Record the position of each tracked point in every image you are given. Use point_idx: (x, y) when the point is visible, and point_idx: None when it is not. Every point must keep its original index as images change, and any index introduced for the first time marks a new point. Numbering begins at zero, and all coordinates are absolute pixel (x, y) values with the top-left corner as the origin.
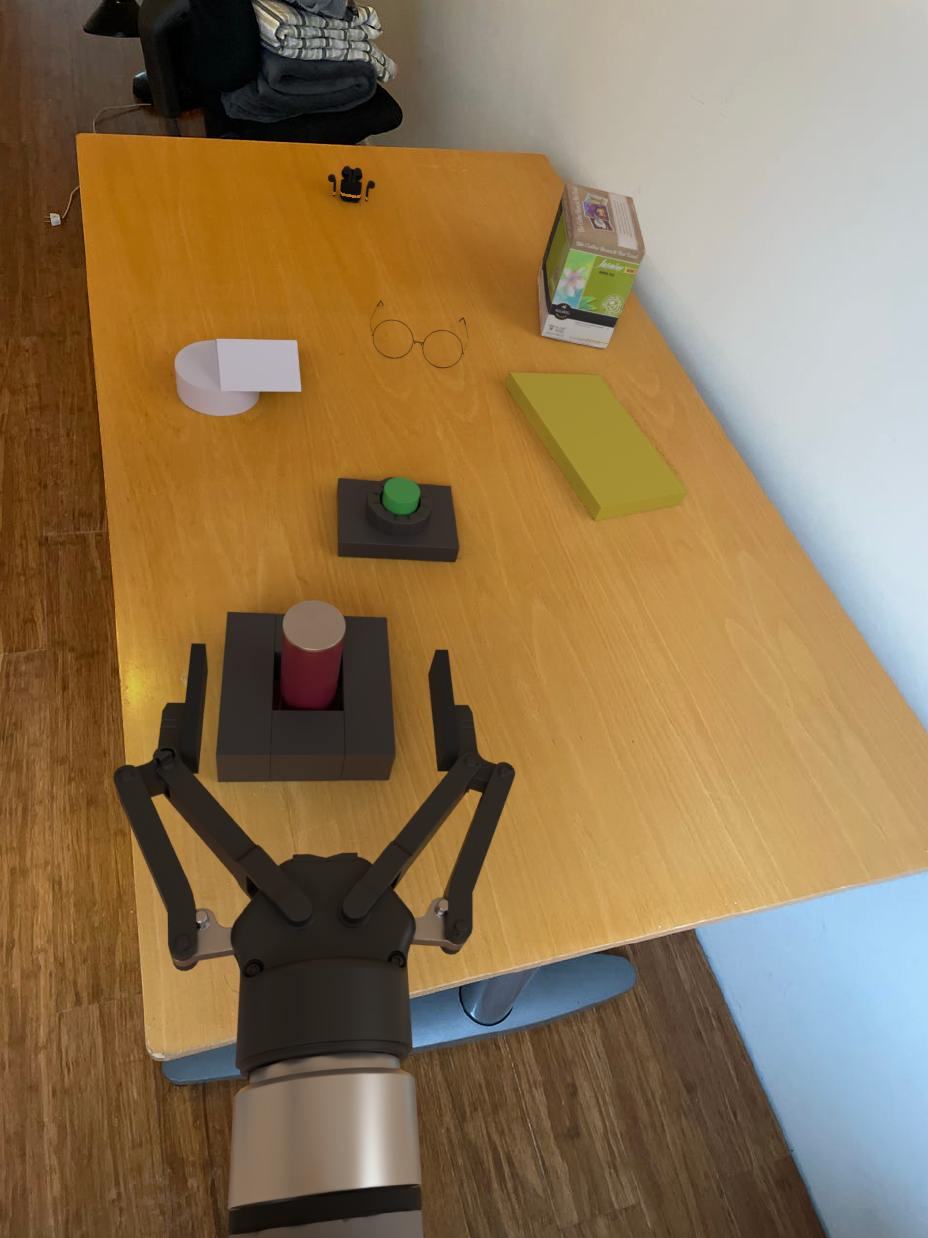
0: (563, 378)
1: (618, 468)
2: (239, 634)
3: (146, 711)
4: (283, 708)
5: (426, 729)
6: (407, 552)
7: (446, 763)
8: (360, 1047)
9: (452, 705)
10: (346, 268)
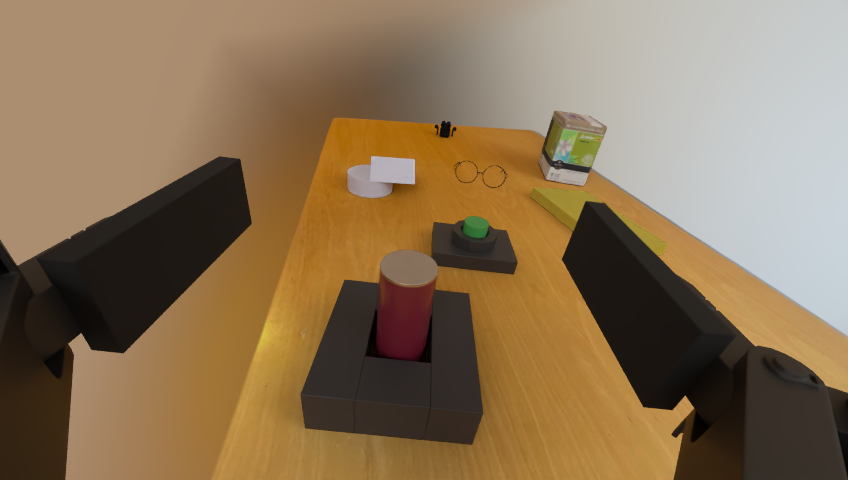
0: (565, 191)
1: None
2: (350, 294)
3: (264, 355)
4: None
5: (505, 395)
6: (480, 263)
7: (677, 383)
8: None
9: (658, 261)
10: (441, 154)
